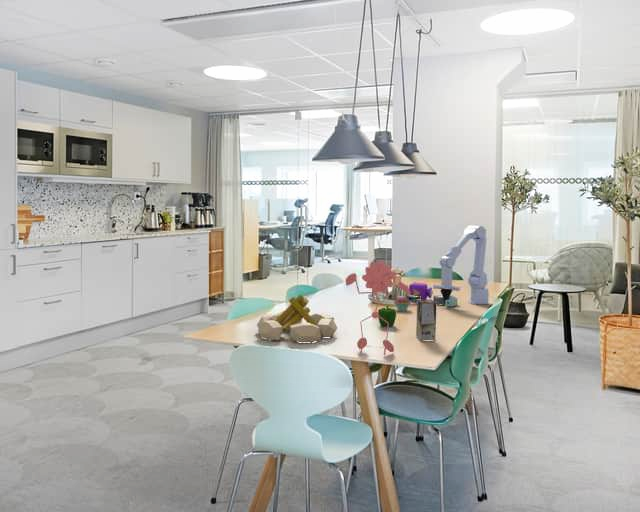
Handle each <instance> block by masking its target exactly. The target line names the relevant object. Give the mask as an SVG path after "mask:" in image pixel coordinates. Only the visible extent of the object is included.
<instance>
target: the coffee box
mask: <svg viewBox="0 0 640 512" xmlns="http://www.w3.org/2000/svg"><path fill="white" fill-rule="evenodd" d="M436 323H437V305H436V303H435V302H433V300H432V299H426V300H417V301H416V332H415V333H416V334H415V336H417V337H418V338H419V339H420V340H435V341H436V330H437V326H436V325H437V324H436ZM417 337H416V338H417ZM418 338H417V339H418ZM419 339H418V340H419ZM420 340H419V341H420Z"/></svg>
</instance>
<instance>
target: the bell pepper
mask: <svg viewBox="0 0 640 512" xmlns="http://www.w3.org/2000/svg"><path fill="white" fill-rule="evenodd" d="M389 306H390V305H389V303H387V304H386V308H385V307H382V308H379V309H378V310H377V312H378V314H379V316H380V317H381V318H383V319H384V320H385V321H386V322H388V323H386V322H385V321H384V320H382V319H381V318H380V317H378V318H377V319H378V323H379V325H380V326H381V325H382V326H381V327H385V326H386V327H388V324H389V326H390V327H393V326H394V325H395V323H396V318H397V310H396V309H395V308H391V307H389Z"/></svg>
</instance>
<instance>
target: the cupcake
mask: <svg viewBox="0 0 640 512" xmlns="http://www.w3.org/2000/svg"><path fill="white" fill-rule="evenodd" d="M406 294H407V293H406V292H404V294H403V296H399V297H396V298H395V299H394V300H393V304H394V305H395V306H396V309H397V310H396V311H398V312H406V311H407V310H408V308H409V305H410V304H411V301H412V300H409V297H408V298H407V297H406Z"/></svg>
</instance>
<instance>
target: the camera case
mask: <svg viewBox="0 0 640 512" xmlns="http://www.w3.org/2000/svg"><path fill="white" fill-rule="evenodd" d="M454 298H457V297H456V296H454V295H450V297H449V299H454ZM432 299H433V300H432V301H433V302H435V303H436V304H442V305H441V306H445V303H444V299H443V296H442V295H433V298H432ZM443 304H444V305H443Z"/></svg>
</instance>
